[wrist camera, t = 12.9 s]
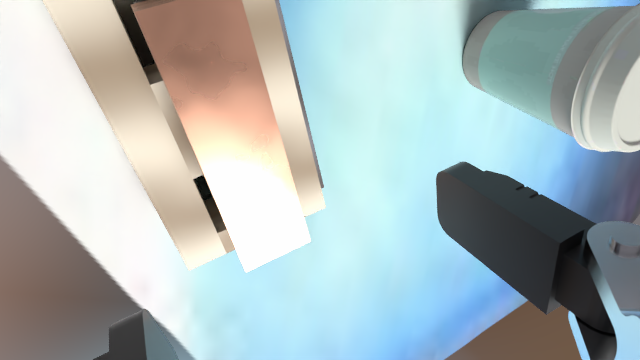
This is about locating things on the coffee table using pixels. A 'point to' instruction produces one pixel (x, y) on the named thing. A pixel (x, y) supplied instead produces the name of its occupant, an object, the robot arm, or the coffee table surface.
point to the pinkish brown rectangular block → (227, 120)
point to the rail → (164, 124)
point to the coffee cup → (564, 69)
